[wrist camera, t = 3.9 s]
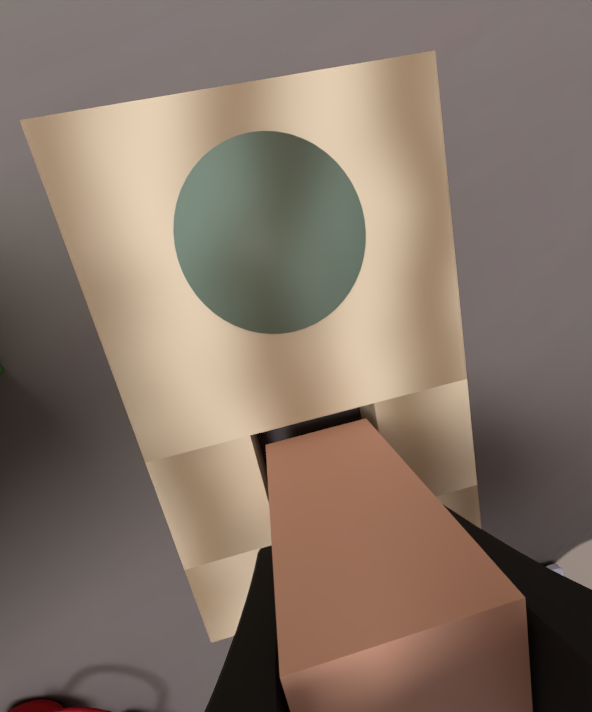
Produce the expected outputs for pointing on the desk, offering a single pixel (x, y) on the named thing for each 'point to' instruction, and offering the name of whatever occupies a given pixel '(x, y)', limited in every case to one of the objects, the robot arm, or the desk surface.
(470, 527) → the robot arm
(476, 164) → the desk surface
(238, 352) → the pocket board
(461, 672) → the peg
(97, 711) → the alarm clock
